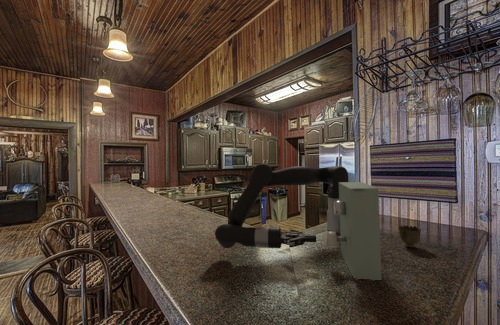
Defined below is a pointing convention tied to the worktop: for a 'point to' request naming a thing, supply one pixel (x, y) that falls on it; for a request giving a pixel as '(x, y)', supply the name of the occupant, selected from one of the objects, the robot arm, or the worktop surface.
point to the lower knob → (333, 238)
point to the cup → (409, 235)
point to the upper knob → (339, 207)
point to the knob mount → (361, 229)
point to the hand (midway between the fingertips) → (316, 238)
